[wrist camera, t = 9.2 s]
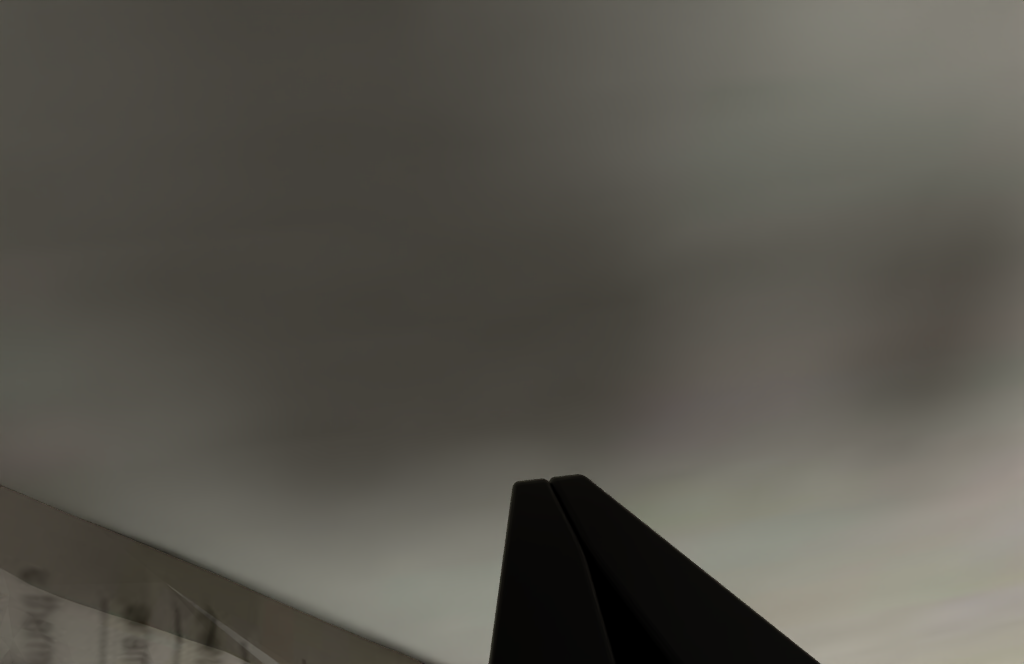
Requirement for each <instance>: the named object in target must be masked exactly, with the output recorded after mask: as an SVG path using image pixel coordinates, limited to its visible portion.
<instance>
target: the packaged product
mask: <svg viewBox="0 0 1024 664" xmlns="http://www.w3.org/2000/svg"><path fill="white" fill-rule="evenodd" d="M0 664H424V663H422V662H420V661H417V660H415V659H413V658H411V657H408V656H406V655H404V654H402V653H400V652H397V651H394V650H391V649H388V648H385V647H383V646H381V645H378V644H376V643H374V642H371V641H369V640H367V639H364V638H362V637H360V636H357V635H355V634H353V633H350V632H348V631H346V630H343V629H341V628H339V627H336V626H334V625H332V624H329V623H327V622H325V621H322V620H320V619H318V618H315V617H313V616H310V615H308V614H306V613H303V612H301V611H299V610H296V609H294V608H292V607H289V606H287V605H285V604H282V603H280V602H278V601H275V600H273V599H271V598H269V597H266V596H264V595H262V594H260V593H257V592H255V591H253V590H251V589H248V588H246V587H244V586H242V585H239V584H237V583H235V582H233V581H230V580H228V579H226V578H224V577H221V576H219V575H217V574H214V573H212V572H209V571H207V570H204V569H202V568H200V567H197V566H195V565H192V564H190V563H188V562H185V561H183V560H180V559H178V558H176V557H173V556H171V555H168V554H166V553H163V552H161V551H159V550H156V549H154V548H151V547H149V546H147V545H144V544H142V543H139V542H137V541H134V540H132V539H130V538H127V537H125V536H122V535H120V534H118V533H115V532H113V531H110V530H108V529H105V528H103V527H101V526H98V525H96V524H93V523H91V522H88V521H85V520H83V519H80V518H77V517H75V516H72V515H70V514H67V513H65V512H63V511H60V510H58V509H56V508H53V507H51V506H49V505H46V504H44V503H41V502H39V501H37V500H34V499H32V498H30V497H27V496H25V495H23V494H20V493H18V492H16V491H13V490H11V489H8V488H5V487H3V486H0Z"/></svg>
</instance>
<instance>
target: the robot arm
mask: <svg viewBox="0 0 1024 664" xmlns="http://www.w3.org/2000/svg"><path fill="white" fill-rule="evenodd" d="M489 664H820V663H819V662H818V661H817V660H815V659H814V658H813V657H812V656H810V655H809V654H808V653H807V652H805V651H804V650H803V649H802V648H800V647H799V646H798V645H797V644H795V643H794V642H793V641H792V640H790V639H789V638H788V637H787V636H785V635H784V634H783V633H782V632H780V631H779V630H778V629H777V628H775V627H774V626H773V625H772V624H770V623H769V622H768V621H766V620H765V619H764V618H763V617H761V616H760V615H759V614H758V613H756V612H755V611H754V610H753V609H751V608H750V607H749V606H748V605H746V604H745V603H744V602H743V601H741V600H740V599H739V598H738V597H736V596H735V595H734V594H733V593H731V592H730V591H729V590H728V589H726V588H725V587H724V586H723V585H721V584H720V583H719V582H718V581H716V580H715V579H714V578H713V577H711V576H710V575H709V574H708V573H706V572H705V571H704V570H703V569H701V568H700V567H699V566H697V565H696V564H695V563H694V562H692V561H691V560H690V559H689V558H687V557H686V556H685V555H684V554H682V553H681V552H680V551H679V550H677V549H676V548H675V547H674V546H672V545H671V544H670V543H669V542H667V541H666V540H665V539H664V538H662V537H661V536H660V535H659V534H657V533H656V532H655V531H654V530H652V529H651V528H650V527H649V526H647V525H646V524H645V523H644V522H642V521H641V520H640V519H639V518H637V517H636V516H635V515H634V514H632V513H631V512H630V511H629V510H627V509H626V508H625V507H623V506H622V505H621V504H620V503H618V502H617V501H616V500H615V499H613V498H612V497H611V496H610V495H608V494H607V493H606V492H605V491H603V490H602V489H601V488H600V487H598V486H597V485H596V484H595V483H593V482H592V481H591V480H590V479H588V478H587V477H586V476H583V475H580V474H576V475H567V476H559V477H553V478H551V479H550V480H549V482H548V481H547V480H545V479H533V480H525V481H518V482H516V483H514V485H513V488H512V495H511V502H510V510H509V517H508V525H507V532H506V539H505V547H504V554H503V562H502V569H501V576H500V584H499V591H498V599H497V606H496V613H495V621H494V628H493V636H492V643H491V650H490V658H489Z"/></svg>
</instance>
